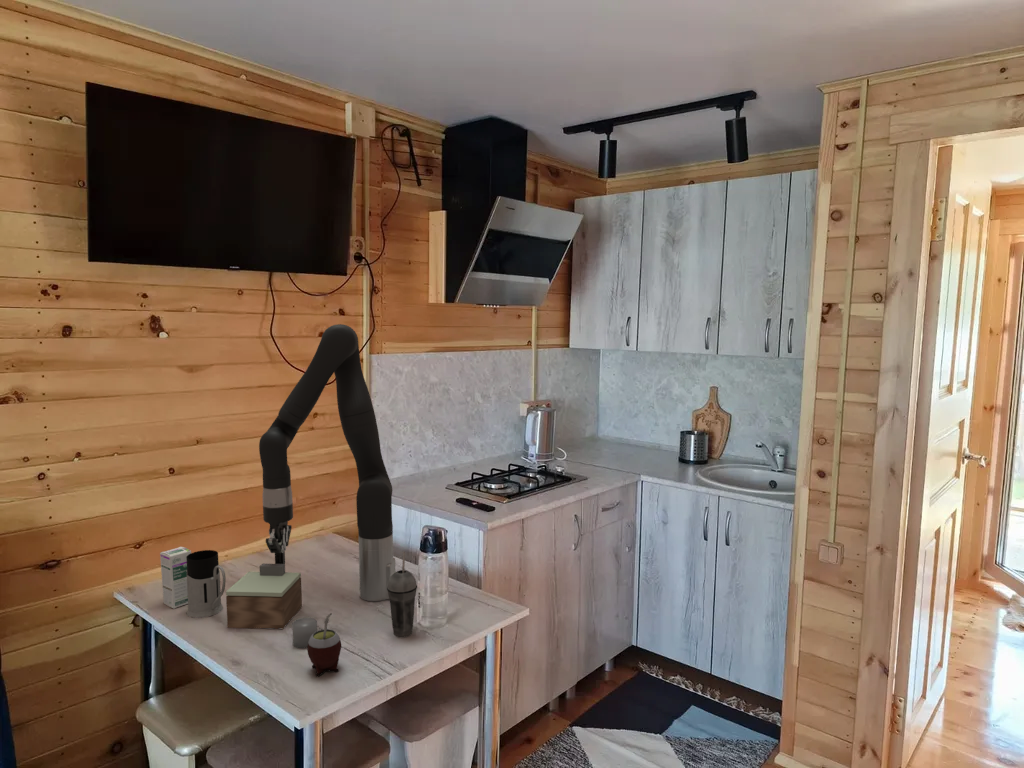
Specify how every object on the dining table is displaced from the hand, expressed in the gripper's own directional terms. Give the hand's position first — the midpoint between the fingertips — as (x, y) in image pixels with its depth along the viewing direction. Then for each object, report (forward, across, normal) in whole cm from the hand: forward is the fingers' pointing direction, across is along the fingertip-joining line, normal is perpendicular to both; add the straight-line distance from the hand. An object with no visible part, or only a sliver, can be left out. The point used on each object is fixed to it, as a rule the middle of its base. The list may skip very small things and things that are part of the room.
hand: (280, 565), depth 183 cm
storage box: (+10, -10, 0) cm, 14 cm away
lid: (+2, -10, 0) cm, 10 cm away
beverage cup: (+10, -18, -36) cm, 42 cm away
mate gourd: (+10, -35, -23) cm, 43 cm away
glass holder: (+10, -8, +16) cm, 20 cm away
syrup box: (+10, -2, +27) cm, 29 cm away
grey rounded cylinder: (+10, -23, -14) cm, 29 cm away
